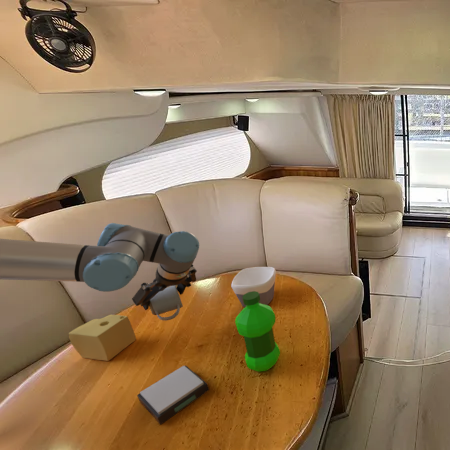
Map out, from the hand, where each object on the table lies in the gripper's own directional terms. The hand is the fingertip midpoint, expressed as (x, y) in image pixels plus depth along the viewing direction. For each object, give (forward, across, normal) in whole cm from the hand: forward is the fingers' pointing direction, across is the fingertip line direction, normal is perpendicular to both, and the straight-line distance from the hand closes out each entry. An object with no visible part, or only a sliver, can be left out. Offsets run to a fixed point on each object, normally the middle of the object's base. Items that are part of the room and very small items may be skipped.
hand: (162, 298), depth 102 cm
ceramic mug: (+1, 0, -5) cm, 5 cm away
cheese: (+19, -14, -3) cm, 24 cm away
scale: (-8, -11, -29) cm, 32 cm away
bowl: (+7, +29, -15) cm, 33 cm away
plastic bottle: (-16, +9, -37) cm, 41 cm away
